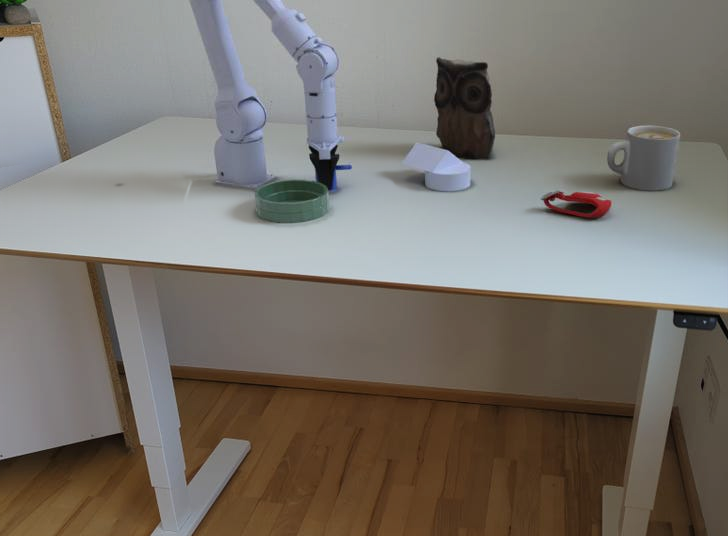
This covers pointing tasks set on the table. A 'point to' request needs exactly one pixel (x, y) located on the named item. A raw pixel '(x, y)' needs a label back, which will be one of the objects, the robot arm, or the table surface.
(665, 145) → the coffee mug
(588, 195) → the tracker holder
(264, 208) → the green plant saucer
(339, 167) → the scoop
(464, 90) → the owl
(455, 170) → the wedge on round base
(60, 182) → the table surface
